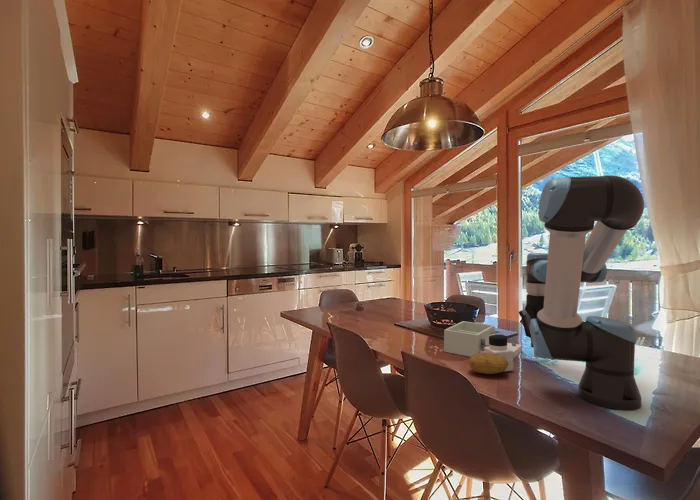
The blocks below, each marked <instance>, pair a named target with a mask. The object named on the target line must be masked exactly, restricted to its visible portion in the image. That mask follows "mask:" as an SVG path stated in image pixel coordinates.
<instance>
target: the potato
mask: <svg viewBox="0 0 700 500" xmlns="http://www.w3.org/2000/svg"><path fill="white" fill-rule="evenodd" d="M468 365H469V367H470V368H471V369H472V370H473V371H474V372H475V373H479V374H484V375H495V374H500V373H502V372H503V371H504V370H506V368H507V367H508V362H507V360H506V359H505V358H504V357H502V356H500V355H496V354H492V353H478V354H474V355H473V356H471V357H469V360H468ZM504 372H505V371H504Z"/></svg>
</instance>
